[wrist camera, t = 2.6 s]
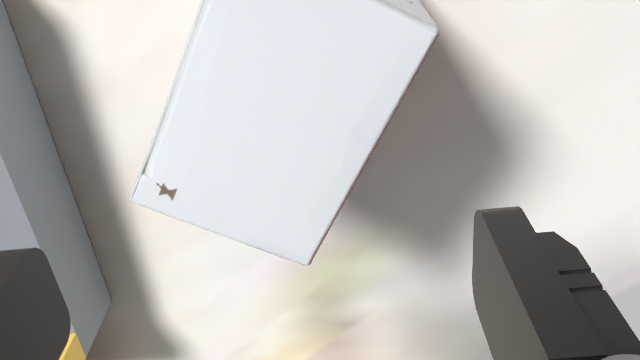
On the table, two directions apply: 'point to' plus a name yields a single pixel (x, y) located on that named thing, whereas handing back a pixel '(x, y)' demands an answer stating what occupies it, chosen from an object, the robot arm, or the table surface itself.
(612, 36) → the table surface
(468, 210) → the table surface
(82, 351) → the platform
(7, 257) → the robot arm
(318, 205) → the small box
